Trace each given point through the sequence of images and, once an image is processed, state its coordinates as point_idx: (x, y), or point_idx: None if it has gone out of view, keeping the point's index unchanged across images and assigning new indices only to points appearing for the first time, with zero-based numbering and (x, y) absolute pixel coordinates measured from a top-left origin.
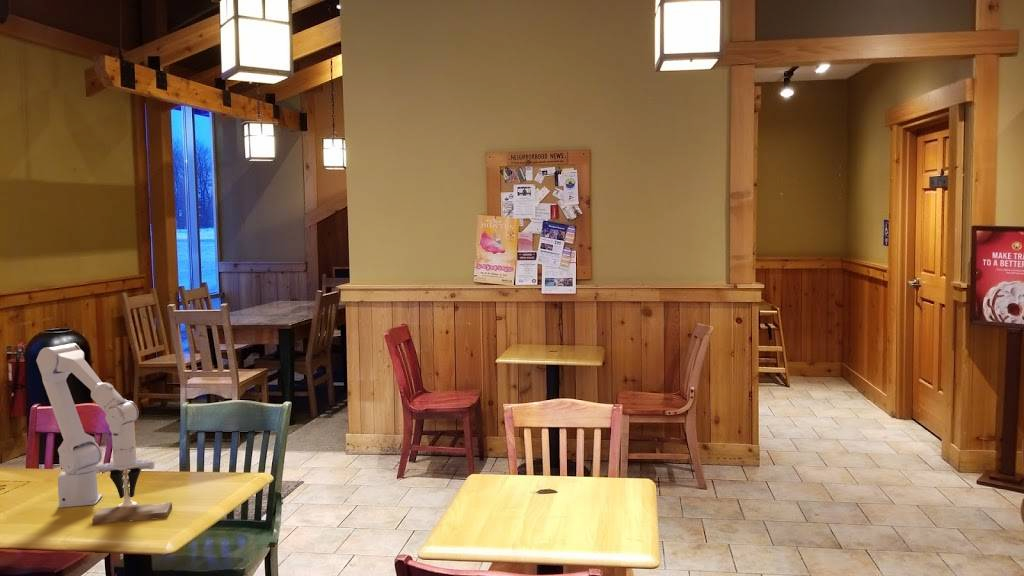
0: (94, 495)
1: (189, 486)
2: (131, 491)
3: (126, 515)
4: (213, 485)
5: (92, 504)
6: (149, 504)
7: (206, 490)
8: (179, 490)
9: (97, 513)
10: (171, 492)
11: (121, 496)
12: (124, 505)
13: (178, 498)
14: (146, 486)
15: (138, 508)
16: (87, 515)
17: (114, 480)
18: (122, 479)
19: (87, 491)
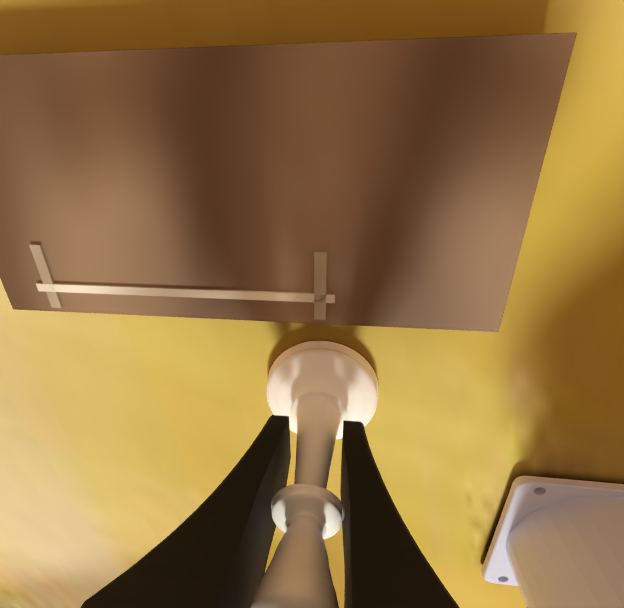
0: (539, 550)
1: (113, 548)
2: (262, 444)
3: (239, 54)
4: (16, 527)
5: (534, 477)
6: (147, 308)
7: (11, 485)
8: (135, 521)
9: (518, 206)
10: (161, 511)
11: (349, 427)
12: (331, 369)
13: (88, 430)
14: None
15: (195, 239)
16: (571, 310)
17: (422, 591)
18: (329, 602)
19: (613, 581)
